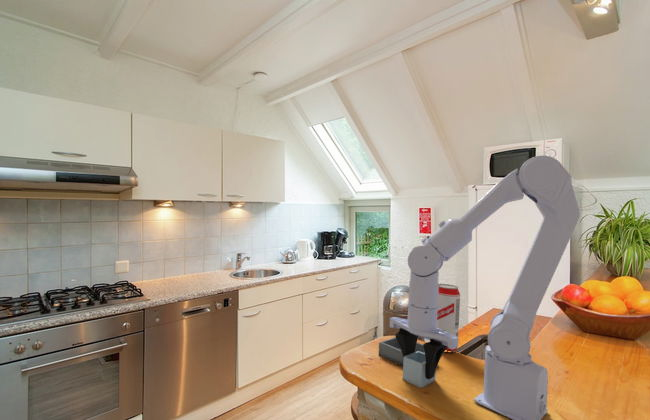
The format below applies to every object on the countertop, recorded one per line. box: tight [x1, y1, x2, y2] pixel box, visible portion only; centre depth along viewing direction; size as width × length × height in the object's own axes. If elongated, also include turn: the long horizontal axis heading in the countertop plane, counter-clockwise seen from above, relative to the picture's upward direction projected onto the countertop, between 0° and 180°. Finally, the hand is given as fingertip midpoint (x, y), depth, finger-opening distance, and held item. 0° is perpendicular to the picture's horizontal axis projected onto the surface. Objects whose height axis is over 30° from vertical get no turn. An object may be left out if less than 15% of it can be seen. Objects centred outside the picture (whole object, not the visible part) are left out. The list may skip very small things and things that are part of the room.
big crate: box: [378, 336, 425, 367], centre depth 76 cm, size 10×8×3 cm
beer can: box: [437, 283, 461, 353], centre depth 84 cm, size 6×6×16 cm
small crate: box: [402, 351, 437, 389], centre depth 66 cm, size 4×5×4 cm
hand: (419, 372), depth 66 cm, fingers closed on small crate, 4 cm apart
